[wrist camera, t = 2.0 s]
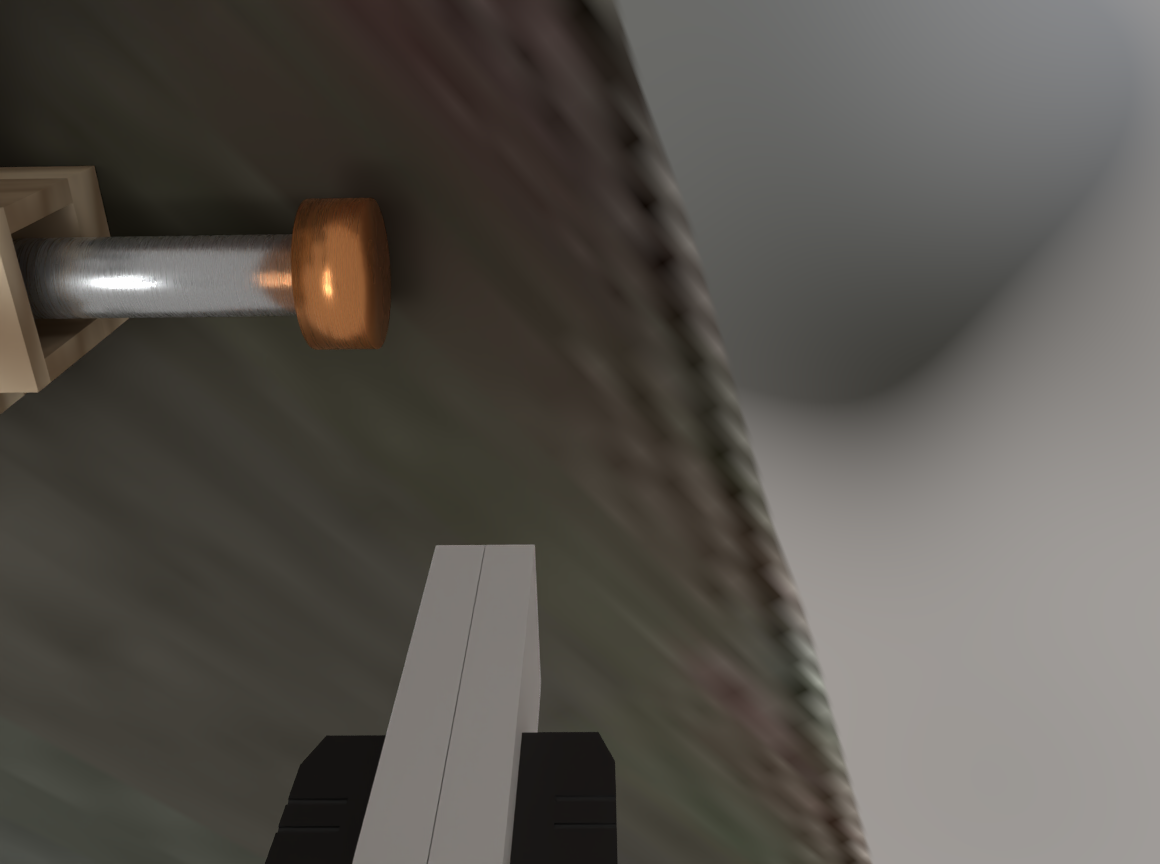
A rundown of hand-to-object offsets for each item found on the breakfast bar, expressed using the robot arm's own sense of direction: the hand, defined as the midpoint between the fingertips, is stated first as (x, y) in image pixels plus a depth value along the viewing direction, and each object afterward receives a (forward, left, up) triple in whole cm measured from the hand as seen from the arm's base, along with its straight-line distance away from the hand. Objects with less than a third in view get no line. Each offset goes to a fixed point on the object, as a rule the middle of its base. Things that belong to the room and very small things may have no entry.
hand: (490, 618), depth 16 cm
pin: (0, -14, -21) cm, 25 cm away
